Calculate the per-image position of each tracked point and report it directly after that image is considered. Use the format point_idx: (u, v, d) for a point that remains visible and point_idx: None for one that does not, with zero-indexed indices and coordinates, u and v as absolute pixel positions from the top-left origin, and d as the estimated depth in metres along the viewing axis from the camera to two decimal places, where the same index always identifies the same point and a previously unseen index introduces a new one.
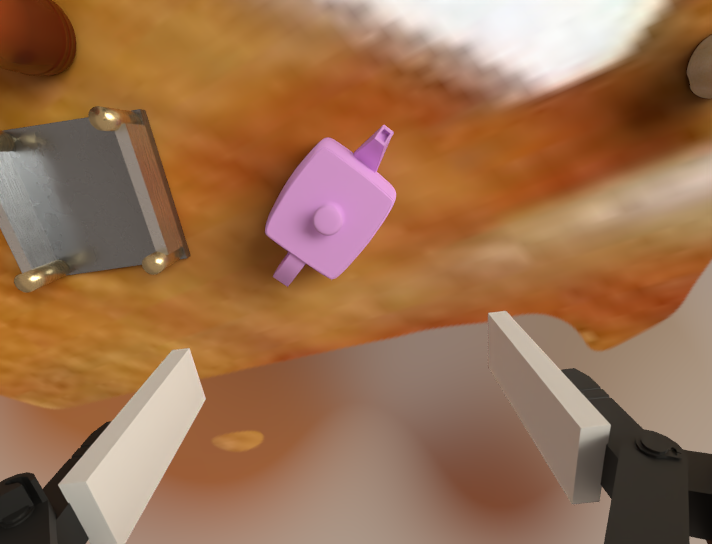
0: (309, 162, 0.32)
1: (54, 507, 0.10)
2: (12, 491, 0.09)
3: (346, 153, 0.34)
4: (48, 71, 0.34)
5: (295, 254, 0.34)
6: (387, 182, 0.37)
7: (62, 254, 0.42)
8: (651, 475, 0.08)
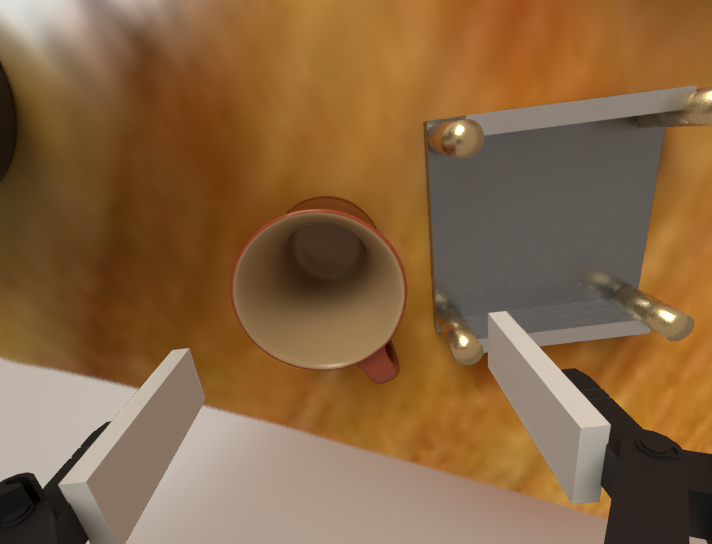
0: None
1: (54, 507, 0.10)
2: (12, 491, 0.09)
3: None
4: None
5: None
6: None
7: (607, 288, 0.28)
8: (650, 475, 0.08)
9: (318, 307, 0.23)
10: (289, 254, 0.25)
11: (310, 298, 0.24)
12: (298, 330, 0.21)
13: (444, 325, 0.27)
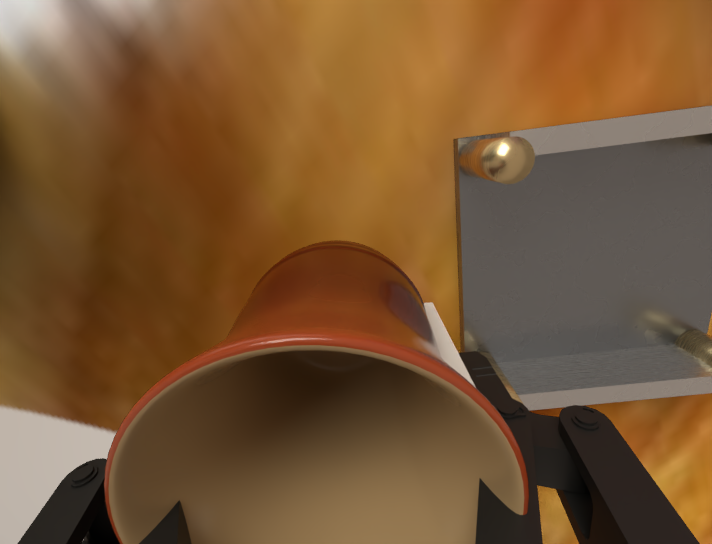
0: None
1: None
2: None
3: None
4: (423, 304, 0.14)
5: None
6: None
7: (669, 333, 0.24)
8: None
9: (319, 450, 0.13)
10: None
11: (305, 425, 0.13)
12: (276, 528, 0.10)
13: None
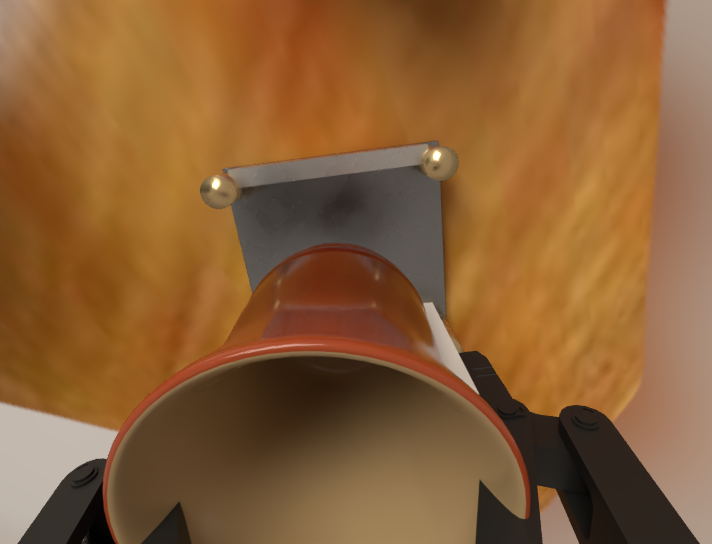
0: None
1: None
2: None
3: None
4: (423, 306, 0.14)
5: None
6: None
7: None
8: None
9: (319, 453, 0.13)
10: None
11: (305, 428, 0.13)
12: (276, 532, 0.10)
13: None
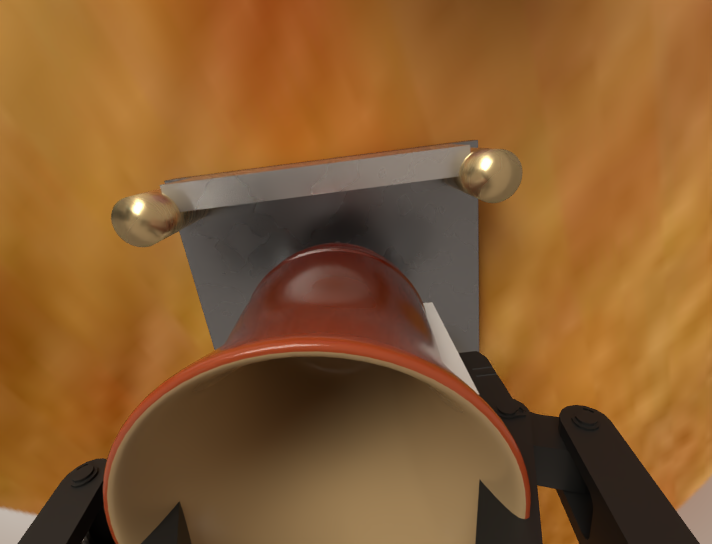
0: None
1: None
2: None
3: None
4: (423, 306, 0.14)
5: None
6: None
7: None
8: None
9: (319, 453, 0.13)
10: None
11: (305, 428, 0.13)
12: (276, 532, 0.10)
13: None
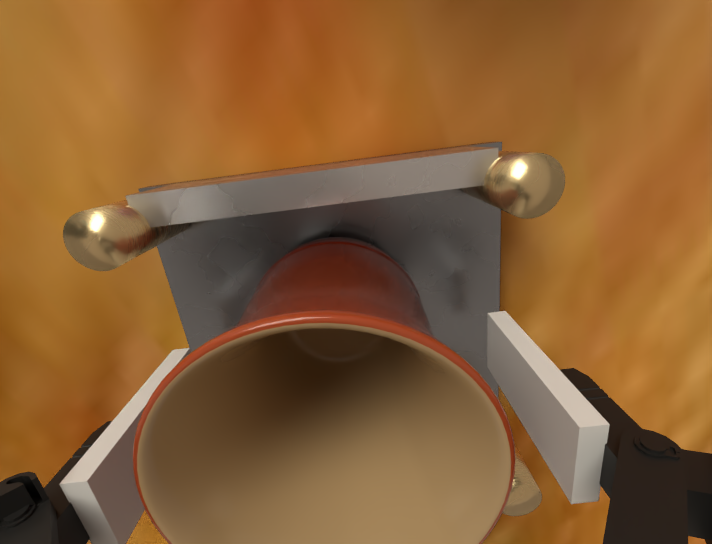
0: None
1: (55, 506, 0.10)
2: (13, 491, 0.09)
3: None
4: (419, 296, 0.15)
5: None
6: None
7: None
8: (649, 474, 0.08)
9: (322, 433, 0.13)
10: None
11: (309, 411, 0.14)
12: (285, 502, 0.11)
13: None
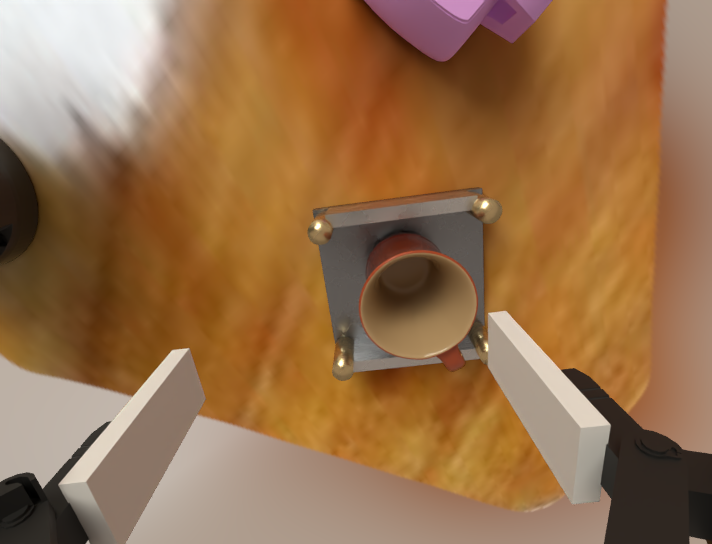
0: None
1: (54, 507, 0.10)
2: (12, 491, 0.09)
3: None
4: None
5: None
6: None
7: None
8: (651, 475, 0.08)
9: (403, 315, 0.32)
10: None
11: (395, 308, 0.32)
12: (394, 331, 0.29)
13: (335, 351, 0.37)
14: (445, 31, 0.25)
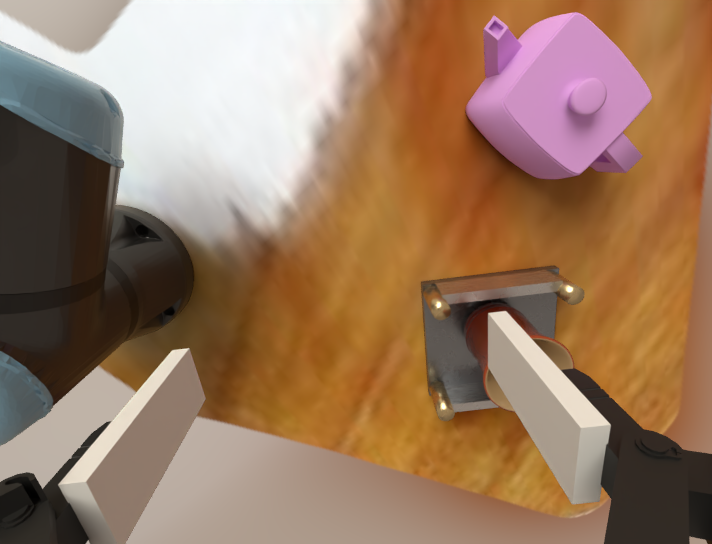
0: (515, 118, 0.30)
1: (54, 507, 0.10)
2: (12, 491, 0.09)
3: (500, 79, 0.31)
4: None
5: (610, 142, 0.30)
6: (530, 31, 0.32)
7: None
8: (651, 475, 0.08)
9: None
10: None
11: None
12: (501, 389, 0.38)
13: (433, 394, 0.46)
14: (556, 173, 0.33)
